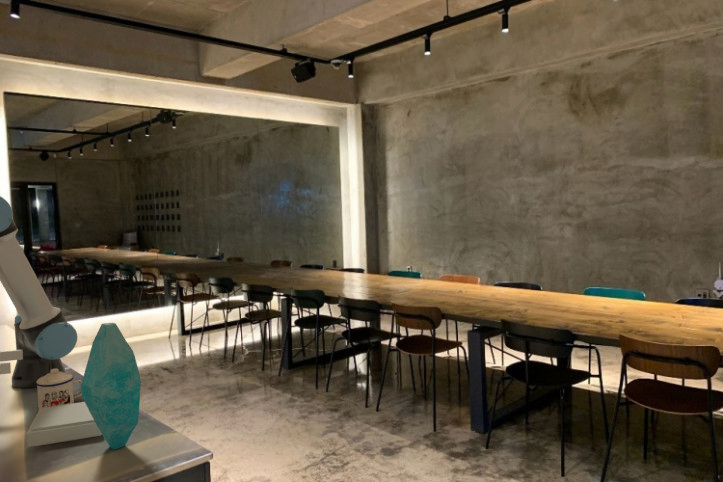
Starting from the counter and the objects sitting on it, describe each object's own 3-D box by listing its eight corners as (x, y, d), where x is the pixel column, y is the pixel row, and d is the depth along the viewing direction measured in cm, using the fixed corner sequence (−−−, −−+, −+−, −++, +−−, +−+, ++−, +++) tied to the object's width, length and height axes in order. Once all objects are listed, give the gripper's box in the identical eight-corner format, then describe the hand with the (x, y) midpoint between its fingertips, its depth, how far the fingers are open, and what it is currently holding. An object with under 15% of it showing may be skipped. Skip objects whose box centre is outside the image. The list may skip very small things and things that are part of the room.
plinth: (40, 421, 139) (39, 406, 138) (106, 411, 144) (106, 397, 144) (27, 447, 124) (26, 431, 123) (101, 435, 130) (100, 420, 129)
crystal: (101, 467, 114) (94, 334, 111) (78, 448, 123) (71, 324, 121) (154, 448, 123) (149, 323, 120) (129, 431, 132) (124, 315, 130)
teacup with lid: (38, 418, 140) (36, 377, 139) (36, 408, 148) (34, 368, 147) (88, 408, 147) (86, 368, 146) (84, 398, 155) (82, 360, 154)
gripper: (-61, 370, 146) (27, 361, 154) (-101, 400, 123) (5, 388, 131) (-62, 343, 146) (26, 337, 154) (-103, 369, 123) (3, 359, 130)
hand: (16, 360), depth 142 cm, fingers open, 13 cm apart
